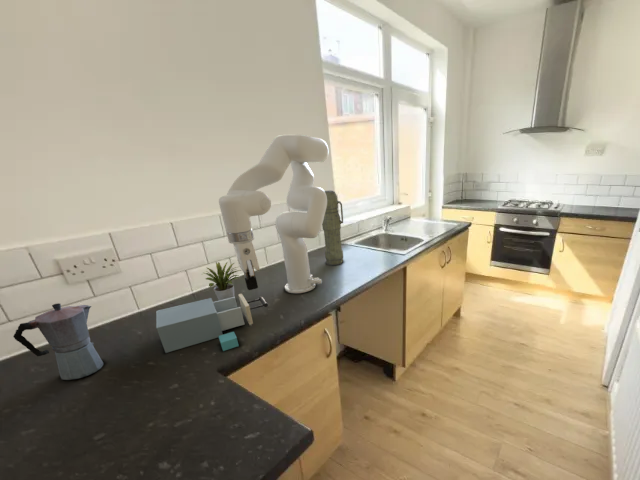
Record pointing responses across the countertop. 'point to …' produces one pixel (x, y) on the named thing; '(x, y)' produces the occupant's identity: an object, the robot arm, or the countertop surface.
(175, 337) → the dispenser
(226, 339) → the teal block
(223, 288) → the house plant
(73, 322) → the moka pot
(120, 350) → the countertop surface
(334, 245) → the thermos
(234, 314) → the drawer
